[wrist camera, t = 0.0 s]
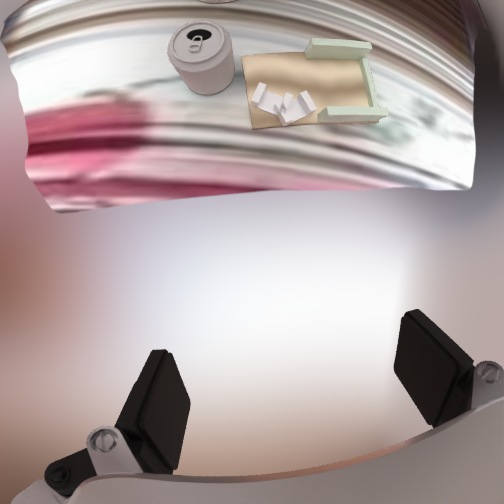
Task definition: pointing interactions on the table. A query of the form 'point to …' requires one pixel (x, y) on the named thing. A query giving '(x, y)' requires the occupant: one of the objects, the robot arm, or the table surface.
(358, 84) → the board
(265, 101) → the clip
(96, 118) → the table surface
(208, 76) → the can
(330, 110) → the bracket
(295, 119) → the clip
